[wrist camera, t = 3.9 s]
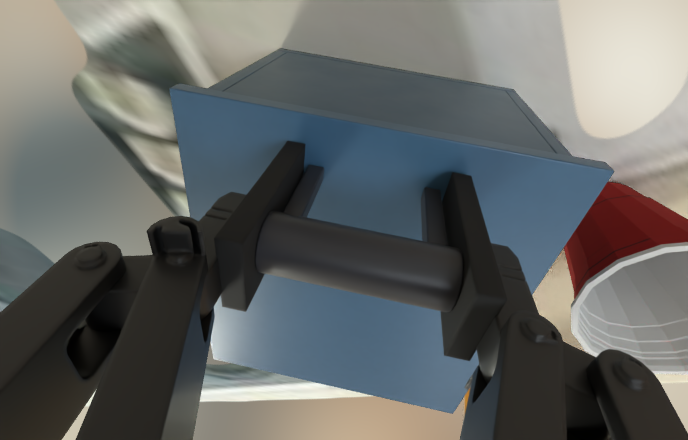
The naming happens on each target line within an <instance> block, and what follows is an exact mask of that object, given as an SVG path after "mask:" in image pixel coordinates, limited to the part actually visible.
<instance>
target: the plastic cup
mask: <svg viewBox="0 0 688 440" xmlns="http://www.w3.org/2000/svg"><path fill="white" fill-rule="evenodd" d="M564 250H565V255H566V259H567V263H568V267H569V271H570V276H571V280H572V284H573V288H574V301H573V303H572V304H571V332H572V334H573V335H574V336H575V338H576V339H577V340H578V342H579V343H580V345H581V346H582V347H583V349H584V350H585V351H586V352H588V353H589V354H591V355H593V356H595V357H597V356H598V355H599V354H600V353H601V352H602V351H604V350H607V349H613V350H619V351H622V352H624V353H627V354H629V355H631V356H633V357H634V358H636V359H637V360H639V361H641V362H642V363H643V364H644V365H645V366H646V367H648V368H649V369H650V370H651V371H652V372H653V374H688V219H686V218H684V217H683V216H681V215H679V214H677V213H676V212H674V211H672V210H670V209H669V208H667V207H665V206H663V205H662V204H660V203H658V202H656V201H655V200H653V199H651V198H648V197H645V196H643V195H642V194H640V193H638V192H637V191H635V190H633V189H632V188H630V187H628V186H626V185H622V184H620V183H613V182H607V183H606V185H605V186H604V188H603V189H602V191H601V192H600V194H599V195H598V197H597V198H596V200H595V201H594V203H593V204H592V206H591V207H590V209H589V210H588V212H587V213H586V215H585V216H584V218H583V219H582V221H581V222H580V224H579V225H578V227H577V228H576V230H575V231H574V233H573V234H572V236H571V237H570V239H569V240H568V242H567V243H566V245H565V246H564Z"/></svg>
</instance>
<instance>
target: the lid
mask: <svg viewBox="0 0 688 440" xmlns="http://www.w3.org/2000/svg"><path fill="white" fill-rule="evenodd" d="M169 90H170V96H171V102H172V108H173V114H174V120H175V126H176V132H177V139H178V145H179V151H180V157H181V163H182V169H183V175H184V181H185V188H186V194H187V200H188V206H189V212H190V217H191V218H193V219H195V220H197V221H199V220H200V219H201V218H202V217H203V216H205V214H206V212H207V211H208V210H209V209H211V207H212V206H213V204H214V203H215V202H216V201H217V200H218V199H219V198H220V197H222V196H224V195H226V194H228V193H230V192H235V193H240V194H245V195H247V194H248V192H249V191H250V190H251V188H252V187H253V186H254V184H255V183H256V182H257V180H258V179H259V178H260V177H261V175H262V174H263V173H264V171H265V170H266V169H267V167H268V166H269V165H270V163H271V162H272V161H273V159H274V158H275V157H276V155H277V154H278V153H279V151H280V150H281V149H282V147H283V146H284V145H285V143H286V142H287V141H292V142H298V143H303V144H305V159H304V173H303V177H302V179H301V180H300V182H299V184H298V186H297V188H296V190H295V191H294V193H293V195H292V197H291V199H290V201H289V202H288V204H287V206H286V208H285V210H284V212H283V213H282V212H277V211H271V212H270V213H269V214H268V215H267V216H266V218H265V220H264V222H263V224H262V227H261V229H260V233H259V236H258V240H257V245H256V252H255V266H256V269H257V271H258V272H260V273H264V274H265V275H264V277H263V279H262V281H261V283H260V285H259V287H258V289H257V291H256V293H255V295H254V297H253V299H252V301H251V303H250V305H249V307H248V309H247V311H246V312H244V311H239V310H235V309H230V308H226V307H222V301H221V295H220V297H219V299H218V300H217V302H216V304H215V305H214V314H215V318H214V323H213V329H212V335H211V340H210V341H211V347H212V352H213V358H214V359H216V360H220V361H224V362H229V363H233V364H238V365H242V366H246V367H251V368H255V369H259V370H264V371H268V372H273V373H277V374H281V375H286V376H290V377H294V378H299V379H303V380H307V381H312V382H316V383H321V384H325V385H329V386H334V387H338V388H342V389H347V390H351V391H356V392H360V393H364V394H369V395H373V396H377V397H382V398H386V399H390V400H395V401H399V402H404V403H408V404H413V405H417V406H421V407H426V408H430V409H434V410H439V411H443V412H447V413H452V414H453V412H454V411H455V410H456V408H457V407H458V405H459V404H460V402H461V401H462V399H463V398H464V396H465V395H466V393H467V392H468V390H469V389H470V388H469V389H468V390H467V389H465V388H464V387H465V385H466V383H467V382H468V380H469V378H470V377H471V375H472V374H473V372H474V371H475V369H476V368H477V366H478V365H479V360H478V354H477V350H476V352H475V353H474V355H473V357H472V358H471V360H470V361H466V360H462V359H457V358H453V357H448V356H444V349H443V337H442V325H441V313H440V311H442V312H450V311H452V309H453V308H454V307H455V305H456V303H457V300H458V298H459V295H460V291H461V287H462V282H463V274H464V260H463V255H462V252H461V250H460V249H458V248H455V247H450V246H448V245H447V238H446V230H445V222H444V215H443V207H442V200H443V197H444V194H445V192H446V189H447V186H448V183H449V180H450V178H451V175H452V172H454V173H460V174H465V175H470V176H472V180H473V183H474V187H475V190H476V194H477V197H478V200H479V204H480V207H481V211H482V214H483V218H484V221H485V224H486V228H487V231H488V235H489V238H490V241H491V243H494V244H498V245H503V246H508V247H509V248H510V249H511V250H512V252H513V253H514V254H515V255H516V256H517V257H518V259H519V262H520V265H521V267H522V271H523V273H524V276H525V278H526V279H525V281H527V284H528V286H529V289H530V292H531V294H533V293H534V291H535V290H536V288H537V287H538V285H539V284H540V282H541V281H542V279H543V278H544V276H545V275H546V273H547V272H548V270H549V269H550V267H551V266H552V264H553V263H554V261H555V260H556V258H557V257H558V255H559V254H560V252H561V251H562V249H563V248H564V246H565V245H566V243H567V242H568V240H569V239H570V237H571V236H572V234H573V233H574V231H575V230H576V228H577V227H578V225H579V224H580V222H581V221H582V219H583V218H584V216H585V215H586V213H587V212H588V210H589V209H590V207H591V206H592V204H593V203H594V201H595V200H596V198H597V197H598V195H599V194H600V192H601V191H602V189H603V188H604V186H605V185H606V183H607V182H608V180H609V179H610V177H611V176H612V174H613V173H614V170H613V169H612V168H611V167H610V166H609V165H608V164H607V163H605V162H600V161H595V160H590V159H584V158H579V157H574V156H568V155H563V154H557V153H552V152H547V151H541V150H536V149H530V148H525V147H520V146H514V145H509V144H503V143H498V142H493V141H487V140H482V139H476V138H471V137H466V136H460V135H455V134H450V133H444V132H439V131H433V130H428V129H423V128H417V127H412V126H406V125H401V124H396V123H390V122H385V121H379V120H374V119H369V118H363V117H358V116H353V115H347V114H342V113H336V112H331V111H326V110H320V109H315V108H309V107H304V106H299V105H293V104H288V103H282V102H277V101H272V100H266V99H261V98H256V97H250V96H245V95H239V94H234V93H229V92H223V91H218V90H212V89H207V88H202V87H196V86H191V85H185V84H177V85H175V86H173V87H171V88H170V89H169ZM470 387H471V386H470Z"/></svg>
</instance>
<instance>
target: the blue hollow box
mask: <svg viewBox="0 0 688 440" xmlns="http://www.w3.org/2000/svg"><path fill="white" fill-rule="evenodd" d="M207 89H212V90H218V91H223V92H229V93H234V94H239V95H245V96H250V97H256V98H261V99H266V100H272V101H277V102H282V103H288V104H293V105H299V106H304V107H309V108H315V109H320V110H326V111H331V112H336V113H342V114H347V115H353V116H358V117H363V118H369V119H374V120H379V121H385V122H390V123H396V124H401V125H406V126H412V127H417V128H423V129H428V130H433V131H439V132H444V133H450V134H455V135H460V136H466V137H471V138H476V139H482V140H487V141H493V142H498V143H503V144H509V145H514V146H520V147H525V148H530V149H536V150H541V151H547V152H552V153H557V154H563V155H568V156H572V155H571V154H570V153H569V152H568V150H567V149H566V148H565V147H564V146H563V145H562V144H561V143H560V141H559V140H558V139H557V138H556V137H555V136H554V135H553V134H552V132H551V131H550V130H549V129H548V128H547V127H546V126H545V125H544V123H543V122H542V121H541V120H540V119H539V118H538V117H537V116H536V114H535V113H534V112H533V111H532V110H531V109H530V108H529V107H528V105H527V104H526V103H525V102H524V101H523V100H522V99H521V98H520V96H519V95H518V94H517V93H516V92H515V90H513V89H508V88H502V87H496V86H491V85H485V84H479V83H474V82H468V81H462V80H457V79H451V78H445V77H440V76H434V75H428V74H423V73H417V72H411V71H406V70H400V69H395V68H389V67H383V66H378V65H372V64H366V63H361V62H355V61H349V60H344V59H338V58H332V57H327V56H321V55H315V54H310V53H304V52H298V51H293V50H287V49H281V48H280V49H278V50H277V51H275V52H273V53H271V54H269V55H268V56H266V57H264V58H262V59H260V60H258V61H257V62H255V63H253V64H251V65H249V66H248V67H246V68H244V69H242V70H240V71H238V72H237V73H235V74H233V75H231V76H229V77H227V78H226V79H224V80H222V81H220V82H218V83H217V84H215V85H213V86H211V87H209V88H207Z"/></svg>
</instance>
